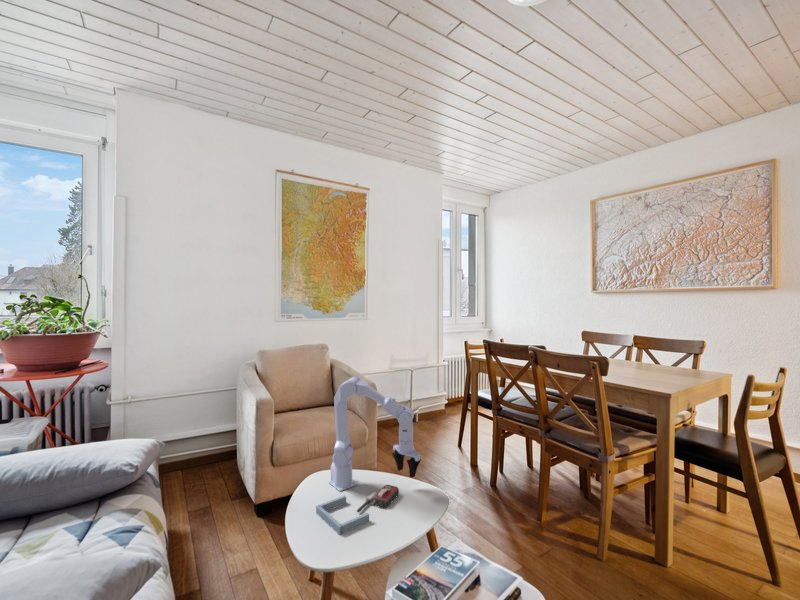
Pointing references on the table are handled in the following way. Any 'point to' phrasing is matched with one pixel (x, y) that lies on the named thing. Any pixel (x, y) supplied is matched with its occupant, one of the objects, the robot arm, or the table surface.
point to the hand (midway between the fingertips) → (406, 473)
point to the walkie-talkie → (382, 497)
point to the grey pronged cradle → (333, 523)
